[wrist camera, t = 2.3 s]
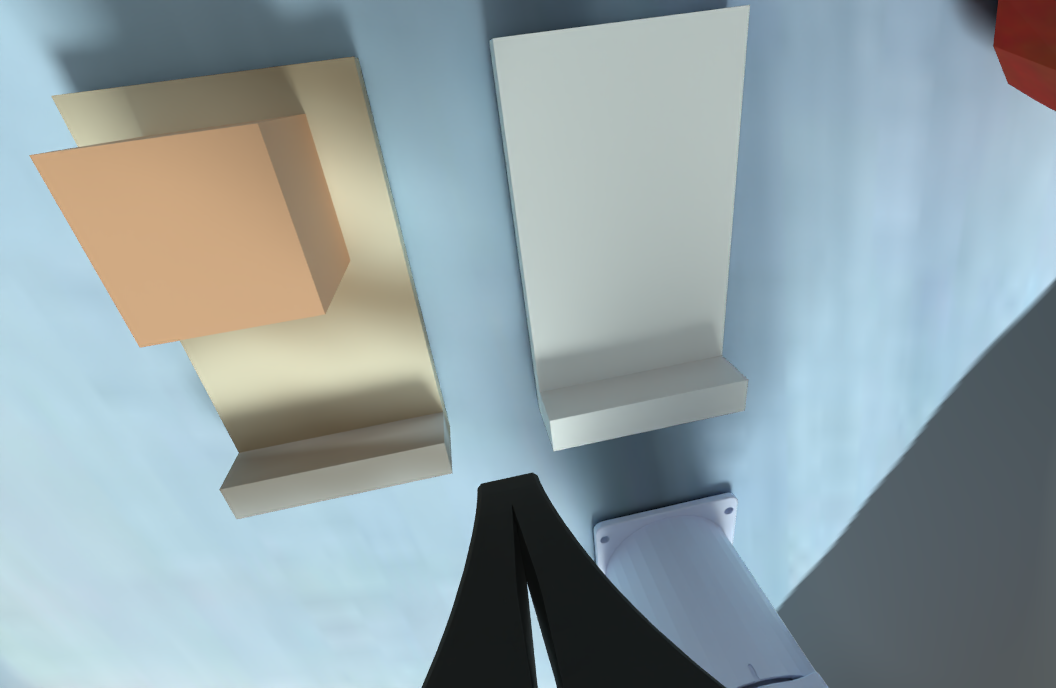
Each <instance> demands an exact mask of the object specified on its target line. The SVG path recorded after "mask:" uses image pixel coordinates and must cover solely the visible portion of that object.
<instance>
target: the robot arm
mask: <svg viewBox="0 0 1056 688" xmlns="http://www.w3.org/2000/svg"><path fill="white" fill-rule="evenodd" d="M737 504H738V500H737V498H736V497H735V495H734V494H733V493H724V494H719V495H715V496H711V497H706V498H702V499H698V500H693V501H689V502H685V503H680V504H676V505H672V506H667V507H663V508H659V509H654V510H650V511H646V512H641V513H637V514H633V515H628V516H624V517H619V518H615V519H611V520H606V521H602V522H599V523H598V524H596V525H595V527H594V543H595V555H596V563H595V562H594V561H593V560H592V559H591V557H590V556H589V555H588V554H587V552H586V551H585V550H584V549H583V547H582V546H581V545H580V543H579V542H578V541H577V539H576V538H575V537H574V535H573V534H572V533H571V531H570V530H569V528H568V527H567V526H566V524H565V523H564V521H563V520H562V518H561V517H560V516H559V514H558V512H557V511H556V509H555V508H554V506H553V505H552V503H551V501H550V500H549V498H548V496H547V494H546V493H545V491H544V489H543V487H542V485H541V483H540V481H539V478H538V476H537V475H536V474H534V473H529V474H524V475H519V476H515V477H510V478H506V479H501V480H496V481H492V482H487V483H483V484H481V485H480V486H479V487H478V496H477V508H476V515H475V522H474V527H473V533H472V538H471V542H470V546H469V551H468V555H467V559H466V564H465V567H464V571H463V575H462V578H461V581H460V585H459V588H458V591H457V595H456V598H455V602H454V605H453V608H452V611H451V614H450V617H449V620H448V623H447V625H446V628H445V631H444V634H443V636H442V639H441V641H440V644H439V647H438V649H437V652H436V654H435V657H434V659H433V662H432V664H431V666H430V669H429V671H428V674H427V676H426V678H425V681H424V683H423V685H422V688H538V686H537V677H536V668H535V658H534V648H533V638H532V628H531V618H530V608H529V599H528V589H527V584H528V587H529V591H530V594H531V598H532V601H533V605H534V608H535V612H536V615H537V619H538V622H539V625H540V629H541V632H542V636H543V639H544V643H545V646H546V650H547V653H548V657H549V660H550V663H551V667H552V670H553V674H554V677H555V681H556V685H557V688H828V686H827V685H826V683H825V682H824V680H823V679H822V678H821V676H820V675H819V673H817V672H816V671H815V670H814V668H813V667H812V665H811V664H810V662H809V660H808V659H807V657H806V656H805V654H804V653H803V651H802V650H801V649H800V647H799V645H798V644H797V642H796V641H795V639H794V638H793V636H792V635H791V633H790V632H789V630H788V629H787V627H786V626H785V624H784V623H783V621H782V620H781V618H780V617H779V615H778V613H777V612H776V610H775V609H774V607H773V606H772V604H771V603H770V601H769V600H768V598H767V597H766V595H765V594H764V592H763V591H762V589H761V588H760V586H759V585H758V583H757V582H756V580H755V579H754V577H753V575H752V574H751V572H750V571H749V569H748V568H747V566H746V565H745V563H744V562H743V560H742V559H741V557H740V556H739V554H738V553H737V551H736V550H735V548H734V547H733V538H734V530H735V521H736V513H737Z"/></svg>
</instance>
